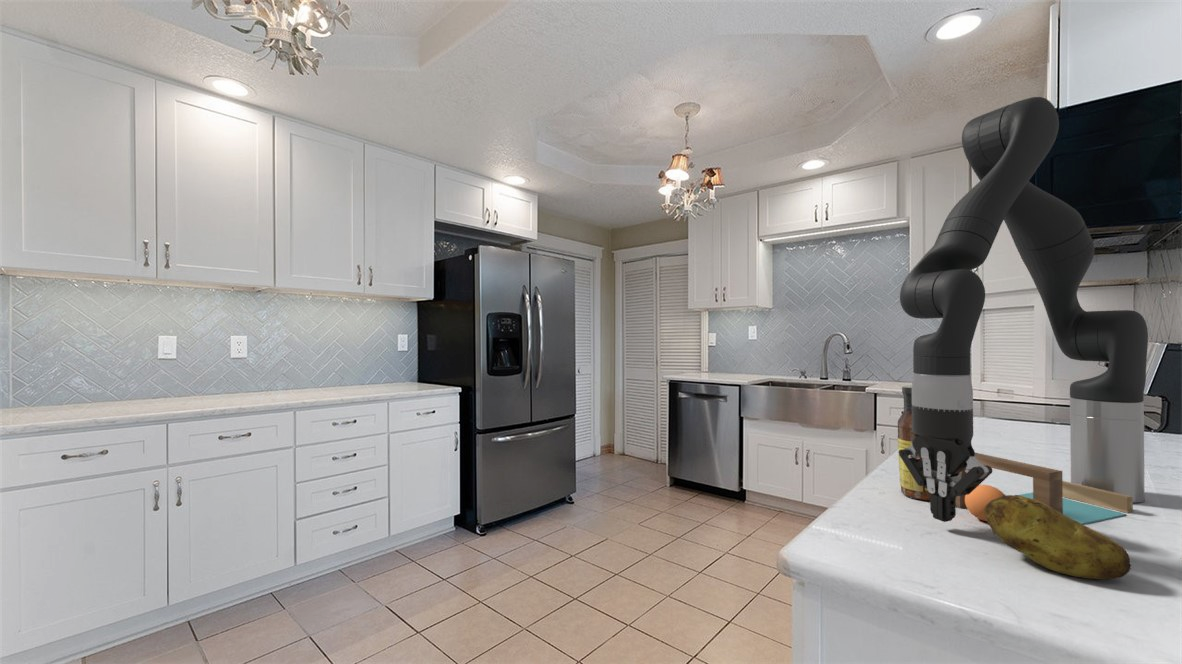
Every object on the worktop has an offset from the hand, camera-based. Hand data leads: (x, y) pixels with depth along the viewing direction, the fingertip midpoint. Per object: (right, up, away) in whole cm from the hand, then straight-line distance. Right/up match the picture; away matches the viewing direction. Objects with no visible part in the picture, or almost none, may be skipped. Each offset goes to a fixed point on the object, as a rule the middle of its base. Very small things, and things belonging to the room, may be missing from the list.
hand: (942, 519), depth 74 cm
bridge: (+12, -1, +4) cm, 13 cm away
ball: (+9, +1, +3) cm, 10 cm away
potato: (+5, -2, -12) cm, 13 cm away
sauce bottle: (+6, -2, +15) cm, 16 cm away
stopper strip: (+33, -1, +12) cm, 35 cm away
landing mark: (+25, -1, +9) cm, 27 cm away
